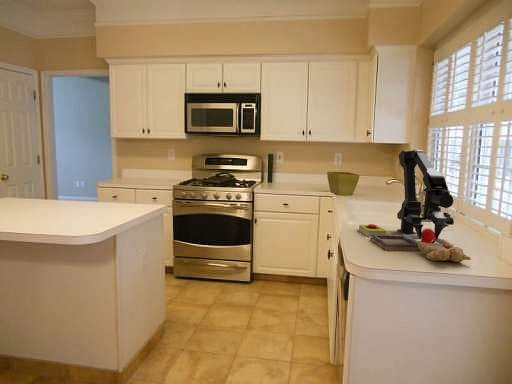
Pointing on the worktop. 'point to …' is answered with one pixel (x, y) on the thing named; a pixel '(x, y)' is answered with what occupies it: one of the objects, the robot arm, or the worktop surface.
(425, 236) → the red rounded lump
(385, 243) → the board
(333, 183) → the flower pot
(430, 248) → the ginger root
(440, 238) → the tray
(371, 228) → the emergency button
